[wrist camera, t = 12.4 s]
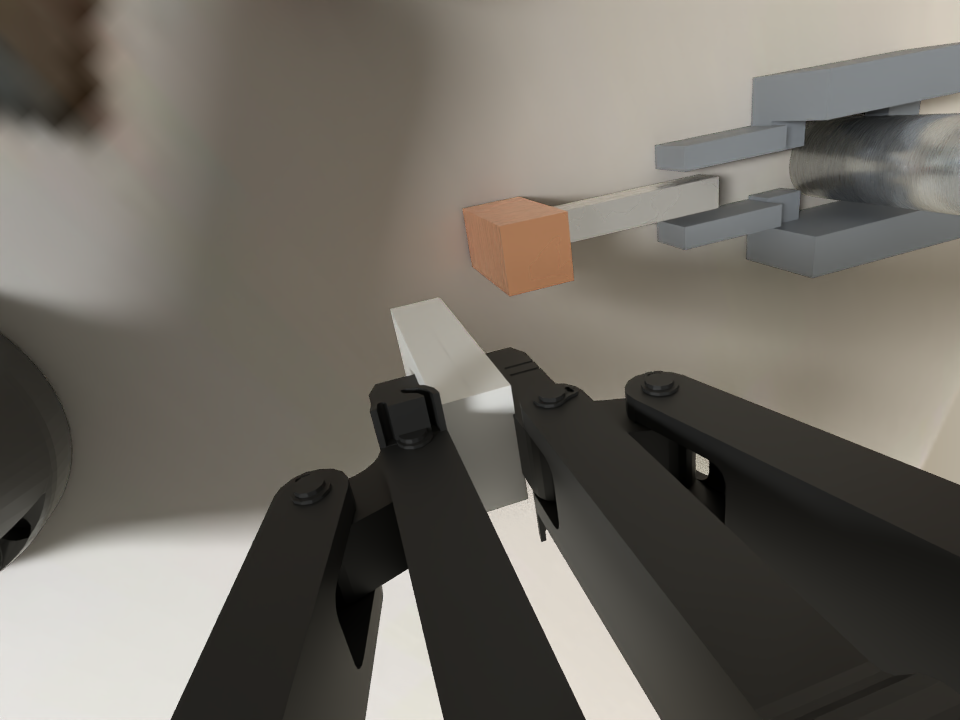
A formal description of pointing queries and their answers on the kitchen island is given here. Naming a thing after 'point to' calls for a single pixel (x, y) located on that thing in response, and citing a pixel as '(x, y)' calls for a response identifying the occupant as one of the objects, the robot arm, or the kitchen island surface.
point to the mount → (781, 125)
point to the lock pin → (569, 228)
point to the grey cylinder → (882, 161)
